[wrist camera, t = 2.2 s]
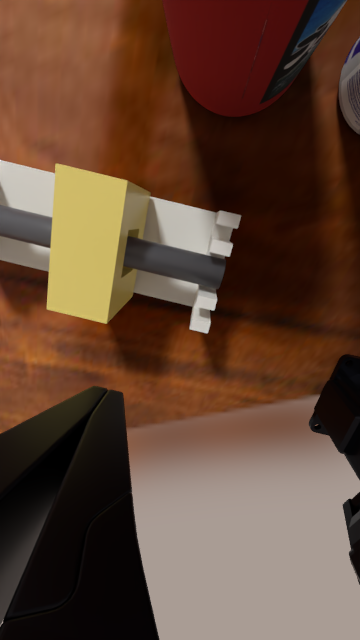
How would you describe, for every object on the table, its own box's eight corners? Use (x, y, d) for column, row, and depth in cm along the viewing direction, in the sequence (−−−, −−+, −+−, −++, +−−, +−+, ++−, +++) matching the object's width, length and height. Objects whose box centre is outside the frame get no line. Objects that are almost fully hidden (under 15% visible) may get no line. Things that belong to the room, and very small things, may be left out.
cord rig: (232, 216, 17) (242, 215, 12) (206, 308, 19) (207, 337, 14) (-23, 154, 17) (-112, 129, 12) (-21, 252, 19) (-96, 263, 14)
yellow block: (150, 192, 16) (127, 180, 11) (132, 296, 18) (106, 323, 14) (100, 180, 16) (55, 163, 11) (88, 285, 18) (46, 309, 14)
